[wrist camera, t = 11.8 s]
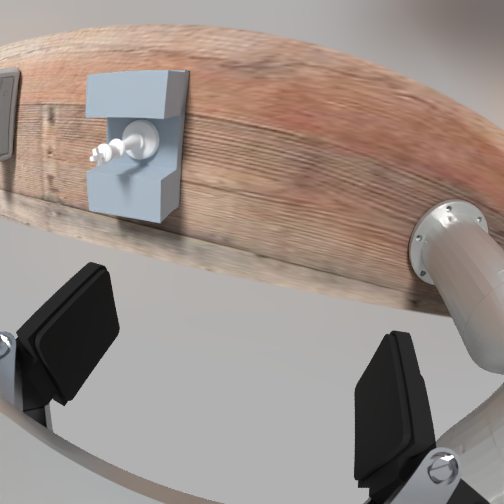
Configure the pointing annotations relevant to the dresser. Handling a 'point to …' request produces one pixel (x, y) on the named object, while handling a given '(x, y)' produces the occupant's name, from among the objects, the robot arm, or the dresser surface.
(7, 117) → the digital clock
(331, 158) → the dresser surface
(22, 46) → the dresser surface
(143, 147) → the chess piece
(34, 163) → the dresser surface
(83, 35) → the dresser surface
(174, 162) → the slot block
